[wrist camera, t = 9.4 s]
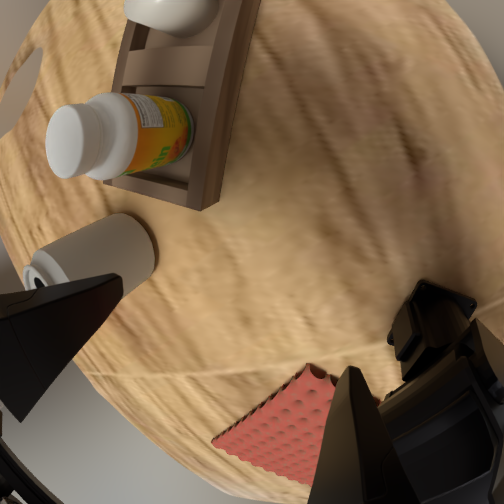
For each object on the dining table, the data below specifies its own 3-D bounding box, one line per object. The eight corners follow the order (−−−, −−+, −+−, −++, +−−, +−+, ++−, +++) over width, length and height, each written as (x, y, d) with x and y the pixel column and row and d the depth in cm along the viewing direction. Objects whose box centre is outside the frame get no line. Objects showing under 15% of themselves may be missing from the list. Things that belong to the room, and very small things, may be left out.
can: (158, 216, 24) (51, 275, 13) (162, 286, 27) (80, 359, 17) (104, 205, 26) (9, 248, 15) (111, 268, 29) (33, 322, 18)
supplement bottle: (157, 176, 21) (59, 209, 12) (131, 123, 20) (32, 135, 11) (208, 142, 18) (105, 155, 10) (177, 84, 17) (73, 70, 9)
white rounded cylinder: (224, -12, 13) (192, -41, 8) (210, 37, 15) (172, 15, 11) (172, -6, 14) (134, -26, 9) (159, 40, 16) (116, 26, 12)
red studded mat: (213, 435, 39) (209, 444, 37) (309, 357, 25) (305, 371, 24) (338, 485, 37) (336, 493, 35) (459, 431, 23) (460, 442, 21)
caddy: (268, -27, 12) (256, -46, 10) (218, 201, 21) (200, 211, 19) (163, -17, 14) (144, -27, 12) (125, 177, 23) (103, 183, 21)
